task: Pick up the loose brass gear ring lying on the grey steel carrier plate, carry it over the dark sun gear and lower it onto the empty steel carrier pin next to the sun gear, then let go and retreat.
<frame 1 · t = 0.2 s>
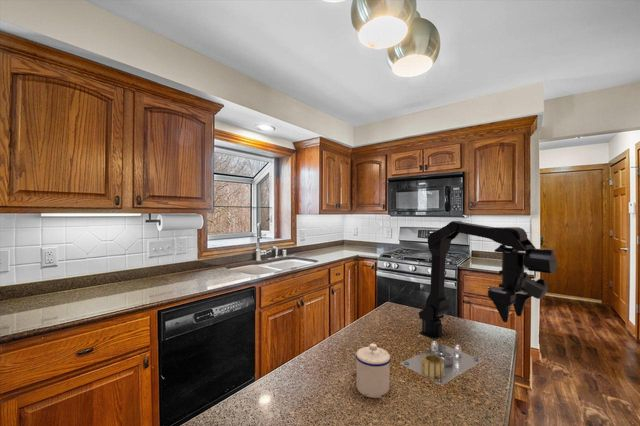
hand: (512, 318, 89), 15 cm above the countertop, fingers open, 9 cm apart
planet gear: (432, 372, 84), point 1 cm above the countertop, touching carrier plate
carrier plate: (441, 364, 90), on the countertop
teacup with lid: (369, 386, 79), on the countertop
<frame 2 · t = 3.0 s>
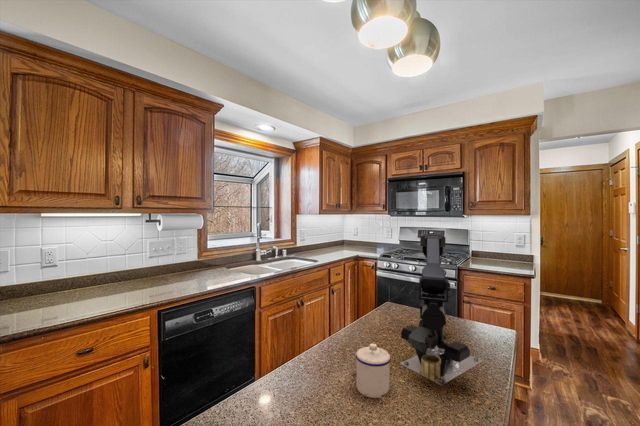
hand: (432, 371, 84), 1 cm above the countertop, fingers closed on planet gear, 6 cm apart
planet gear: (432, 372, 84), point 1 cm above the countertop, touching carrier plate, gripper
everything else where it was.
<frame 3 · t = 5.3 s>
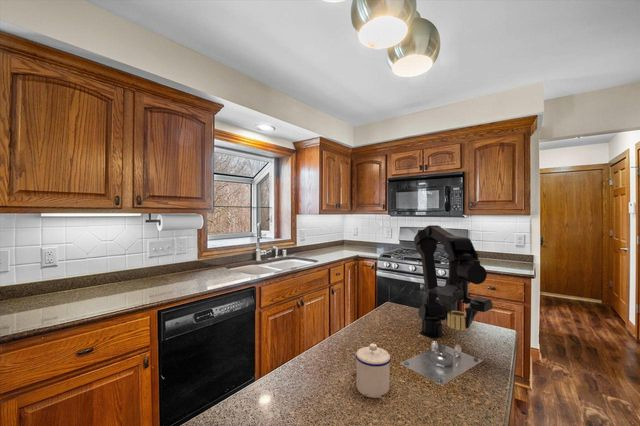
hand: (457, 325, 94), 11 cm above the countertop, fingers closed on planet gear, 6 cm apart
planet gear: (457, 326, 94), point 10 cm above the countertop, touching gripper
everything else where it was.
when the fingers open (3 cm above the countertop, at t = 7.6 s): planet gear drops 2 cm, resting on carrier plate.
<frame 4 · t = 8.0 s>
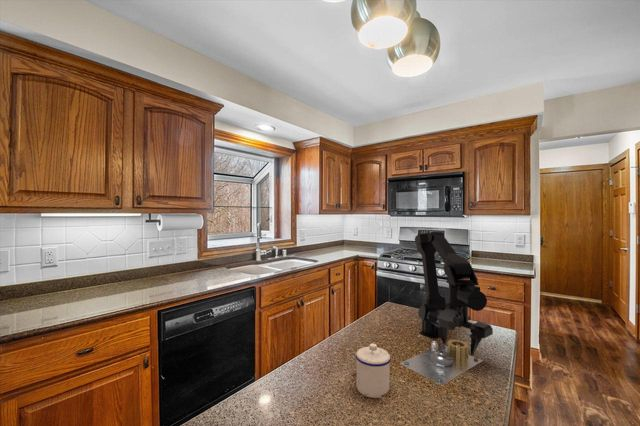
hand: (457, 348, 94), 3 cm above the countertop, fingers open, 9 cm apart
planet gear: (457, 356, 94), point 1 cm above the countertop, touching carrier plate
everything else where it was.
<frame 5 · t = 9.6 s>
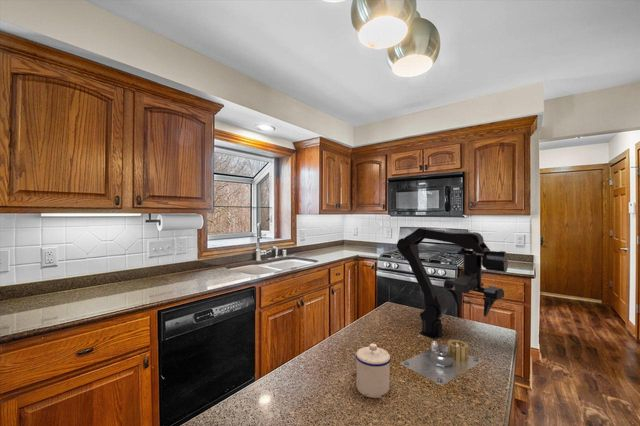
hand: (471, 312, 103), 12 cm above the countertop, fingers open, 9 cm apart
nothing on the countertop moved.
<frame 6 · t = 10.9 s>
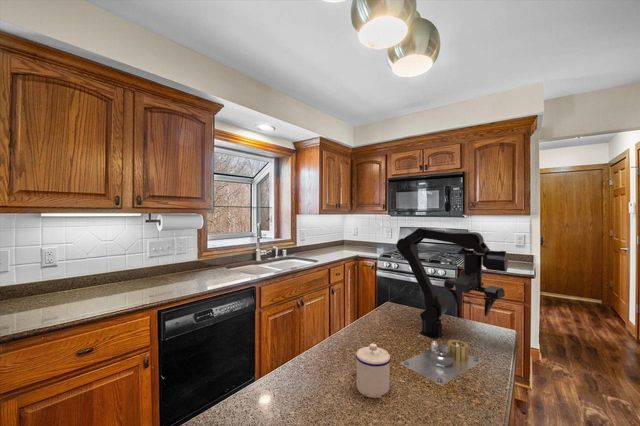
hand: (472, 312, 103), 12 cm above the countertop, fingers open, 9 cm apart
nothing on the countertop moved.
at the end: planet gear 0.0 cm from the target spot on the carrier plate, point 0.8 cm above the carrier plate's base; planet gear tilted 0°; the gripper is holding nothing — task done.
